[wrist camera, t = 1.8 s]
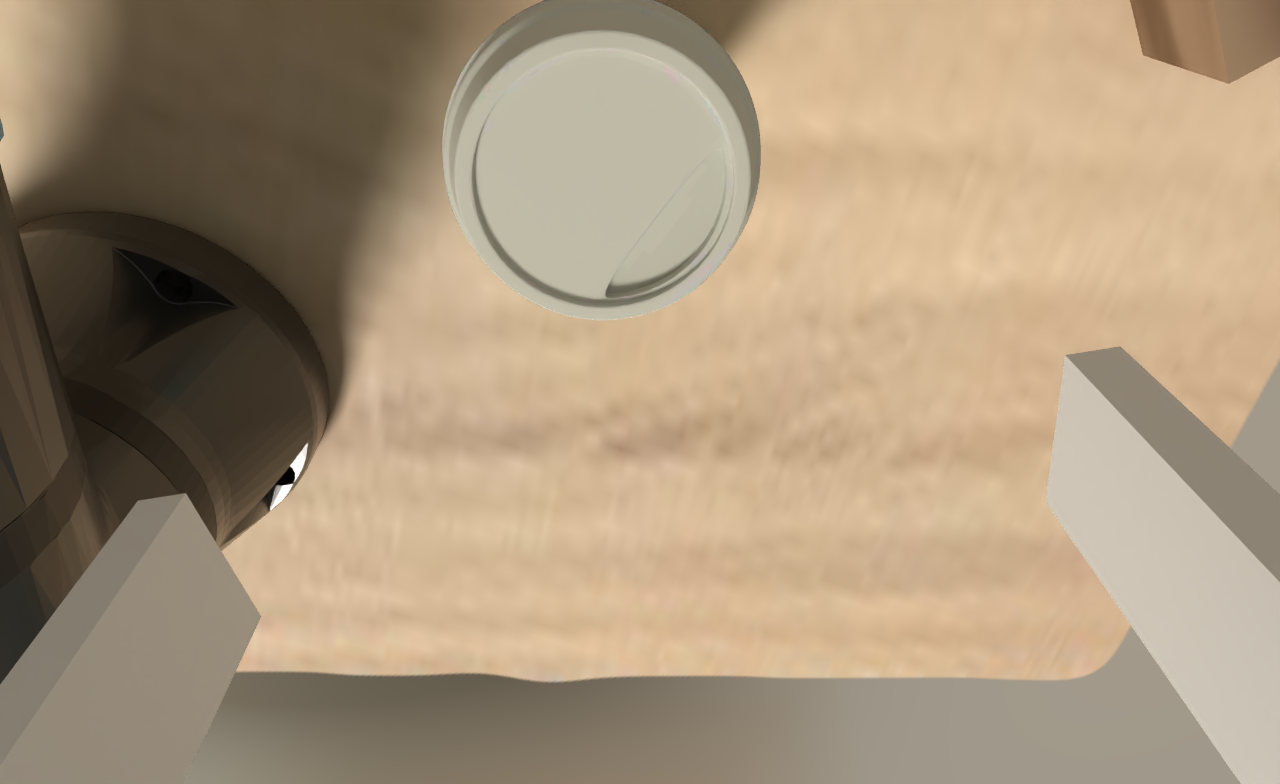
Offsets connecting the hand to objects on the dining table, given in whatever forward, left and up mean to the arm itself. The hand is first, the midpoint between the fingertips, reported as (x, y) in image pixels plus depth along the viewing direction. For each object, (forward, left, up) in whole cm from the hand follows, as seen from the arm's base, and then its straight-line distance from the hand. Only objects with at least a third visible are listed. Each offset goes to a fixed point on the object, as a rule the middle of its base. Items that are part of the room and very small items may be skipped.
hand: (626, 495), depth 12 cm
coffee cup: (0, +1, -23) cm, 22 cm away
